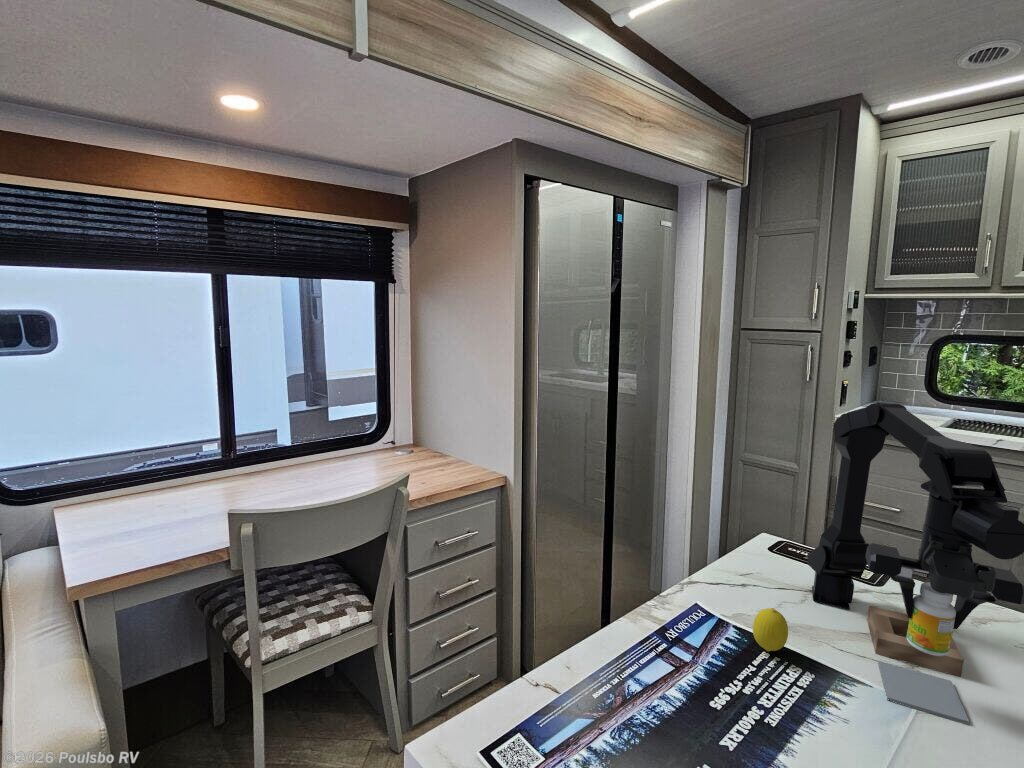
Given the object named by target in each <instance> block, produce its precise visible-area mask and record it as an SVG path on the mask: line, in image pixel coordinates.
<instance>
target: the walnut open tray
mask: <svg viewBox="0 0 1024 768" xmlns="http://www.w3.org/2000/svg"><path fill="white" fill-rule="evenodd" d="M866 617H867V618H866V622H867V625H868V629H869V633H870V637H871V641H872V642H871V643H872V646H873V649H874V650H873V651H874V653H875V654H876V655H880V656H882V657H888V658H891V659H895V660H898V661H902V662H904V663H909V664H913V665H916V666H921V667H924V668H928V669H931V670H933V671H934V670H935V671H939V672H941V673H946V674H949V675H953V676H957V677H962V672H963V667H964V662H965V660H964V657H963V656H962V654H961V652H960V649H959V647H958V646H957V644H956V642H955V639H954V638H953V637H952V639H951V644H950V649H949V653H948V654H947V655H944V656H935V655H930V654H927V653H925V652H922V651H920V650H918V649H916V648H915V647H913V646H912V645H911V644H910V643H909V642H908V641H907V631H908V625H909V619H910V618H908V616H907V613H903V612H899V611H894V610H890V609H885V608H882V607H879V606H874V605H868V610H867V616H866Z"/></svg>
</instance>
